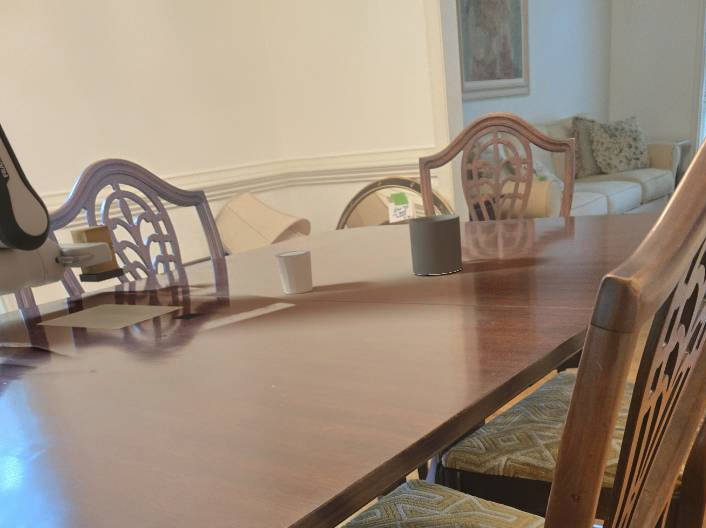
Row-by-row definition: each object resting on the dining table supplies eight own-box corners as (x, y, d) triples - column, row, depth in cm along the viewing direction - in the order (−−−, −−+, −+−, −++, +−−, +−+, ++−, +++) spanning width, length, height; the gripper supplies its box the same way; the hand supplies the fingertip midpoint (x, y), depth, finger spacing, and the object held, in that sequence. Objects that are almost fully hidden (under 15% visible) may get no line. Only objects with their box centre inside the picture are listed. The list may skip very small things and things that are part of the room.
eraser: (80, 281, 161) (66, 231, 156) (106, 275, 166) (93, 225, 162) (98, 282, 159) (84, 230, 154) (124, 275, 164) (111, 225, 159)
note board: (37, 329, 141) (35, 324, 141) (105, 309, 153) (104, 304, 153) (119, 334, 131) (117, 328, 130) (185, 312, 143) (184, 306, 142)
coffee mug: (461, 273, 150) (458, 218, 146) (411, 277, 151) (406, 223, 147) (463, 262, 162) (460, 210, 157) (416, 266, 163) (412, 215, 158)
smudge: (173, 324, 134) (171, 318, 134) (189, 318, 137) (188, 313, 137) (189, 325, 132) (188, 319, 132) (205, 319, 135) (204, 313, 135)
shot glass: (274, 294, 149) (268, 257, 146) (291, 287, 155) (286, 250, 151) (305, 294, 147) (299, 256, 143) (321, 286, 152) (316, 249, 149)
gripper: (71, 242, 144) (127, 230, 154) (4, 244, 153) (61, 233, 164) (81, 277, 147) (136, 263, 157) (15, 277, 156) (70, 263, 167)
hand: (97, 247), depth 160 cm, fingers closed on eraser, 4 cm apart
